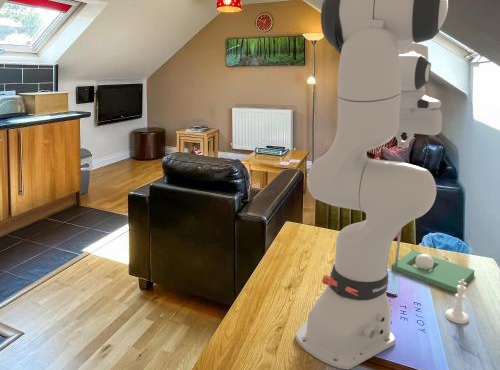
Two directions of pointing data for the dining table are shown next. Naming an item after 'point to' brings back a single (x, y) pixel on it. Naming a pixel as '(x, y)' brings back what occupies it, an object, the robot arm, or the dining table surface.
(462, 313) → the chess piece
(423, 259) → the ball
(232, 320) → the dining table surface
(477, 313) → the dining table surface
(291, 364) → the dining table surface
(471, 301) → the dining table surface
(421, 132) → the robot arm
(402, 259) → the putting mat
